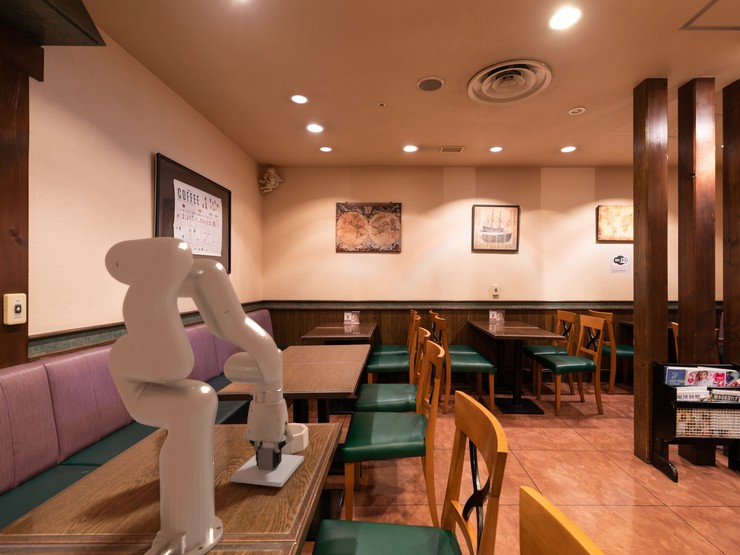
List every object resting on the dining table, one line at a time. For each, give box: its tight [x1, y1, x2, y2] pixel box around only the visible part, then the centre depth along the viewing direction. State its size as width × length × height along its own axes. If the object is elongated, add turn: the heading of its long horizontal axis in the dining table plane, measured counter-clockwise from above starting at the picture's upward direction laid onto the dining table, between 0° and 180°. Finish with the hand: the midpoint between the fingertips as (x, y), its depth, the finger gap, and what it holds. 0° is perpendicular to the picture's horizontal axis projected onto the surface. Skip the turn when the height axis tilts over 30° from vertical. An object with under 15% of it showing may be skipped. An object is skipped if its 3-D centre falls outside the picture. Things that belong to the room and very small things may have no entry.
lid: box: [229, 442, 305, 488], centre depth 94 cm, size 14×14×6 cm
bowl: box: [282, 422, 309, 455], centre depth 110 cm, size 10×10×5 cm
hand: (268, 463), depth 94 cm, fingers closed on lid, 4 cm apart
